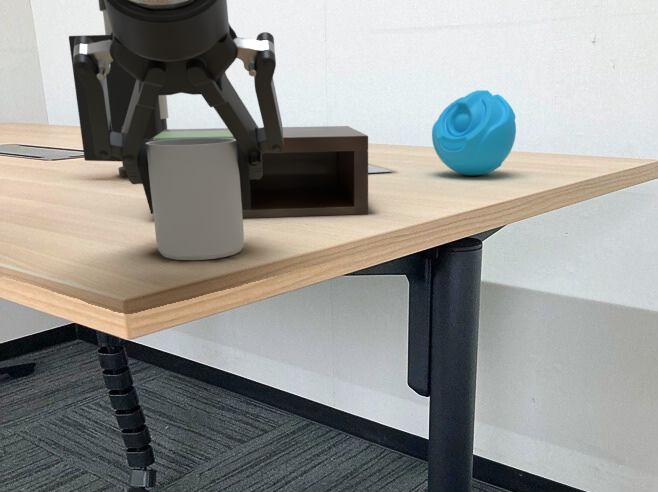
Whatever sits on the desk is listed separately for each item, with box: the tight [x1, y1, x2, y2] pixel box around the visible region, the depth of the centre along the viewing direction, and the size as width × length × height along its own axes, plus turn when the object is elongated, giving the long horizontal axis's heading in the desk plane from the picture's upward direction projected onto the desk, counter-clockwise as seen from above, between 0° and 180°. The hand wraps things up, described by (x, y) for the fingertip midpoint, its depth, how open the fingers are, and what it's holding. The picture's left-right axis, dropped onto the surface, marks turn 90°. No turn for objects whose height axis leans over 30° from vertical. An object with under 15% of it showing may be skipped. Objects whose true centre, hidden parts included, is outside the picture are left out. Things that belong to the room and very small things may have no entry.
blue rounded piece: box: [431, 89, 517, 177], centre depth 106 cm, size 12×11×12 cm
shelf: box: [148, 125, 369, 219], centre depth 84 cm, size 22×16×8 cm
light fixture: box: [68, 0, 169, 179], centre depth 107 cm, size 12×11×25 cm
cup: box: [145, 138, 245, 261], centre depth 62 cm, size 7×10×9 cm
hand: (201, 198), depth 66 cm, fingers closed on cup, 7 cm apart
